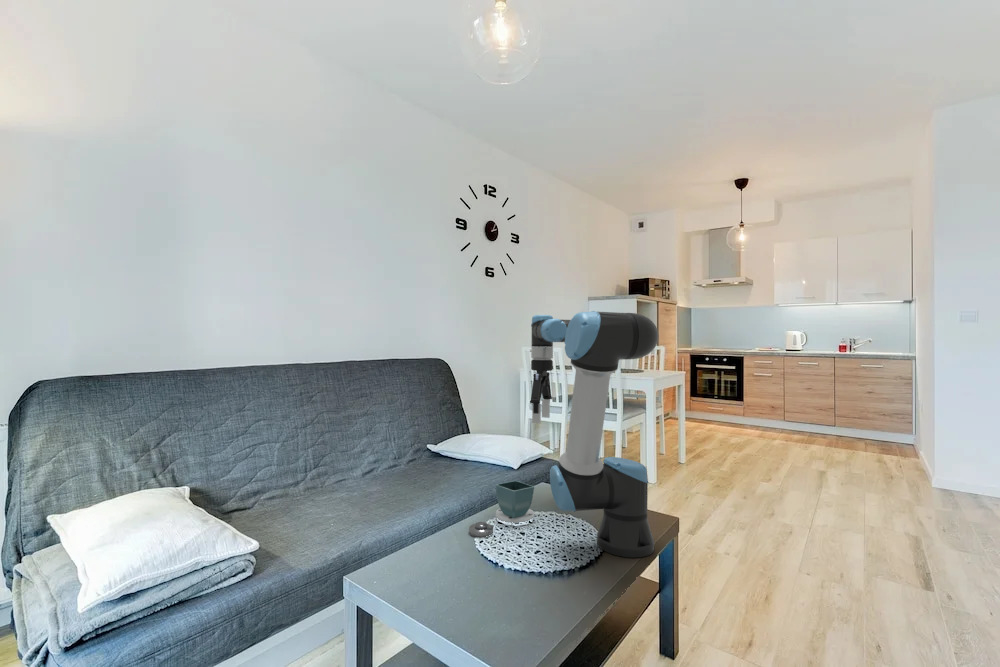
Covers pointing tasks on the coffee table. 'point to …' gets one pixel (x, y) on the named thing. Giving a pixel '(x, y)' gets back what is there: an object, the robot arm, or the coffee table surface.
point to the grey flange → (522, 518)
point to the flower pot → (514, 498)
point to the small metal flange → (480, 529)
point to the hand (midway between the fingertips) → (541, 420)
